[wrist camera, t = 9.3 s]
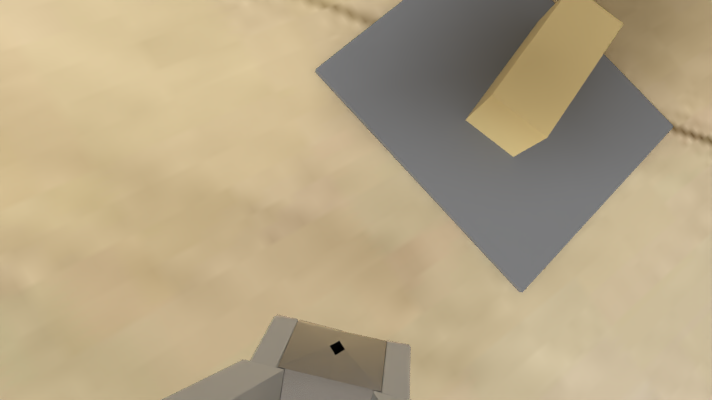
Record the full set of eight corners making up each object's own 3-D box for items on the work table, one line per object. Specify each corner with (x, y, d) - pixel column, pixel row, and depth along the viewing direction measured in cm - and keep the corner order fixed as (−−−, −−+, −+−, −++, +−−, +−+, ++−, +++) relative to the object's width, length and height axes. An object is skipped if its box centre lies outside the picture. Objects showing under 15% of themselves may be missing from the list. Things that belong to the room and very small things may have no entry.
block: (491, 95, 32) (572, -16, 35) (465, 119, 37) (538, 21, 40) (547, 137, 32) (623, 24, 35) (513, 157, 37) (582, 55, 40)
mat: (315, 72, 36) (315, 69, 36) (485, -63, 41) (487, -67, 41) (519, 291, 35) (522, 291, 35) (669, 128, 40) (673, 126, 40)
